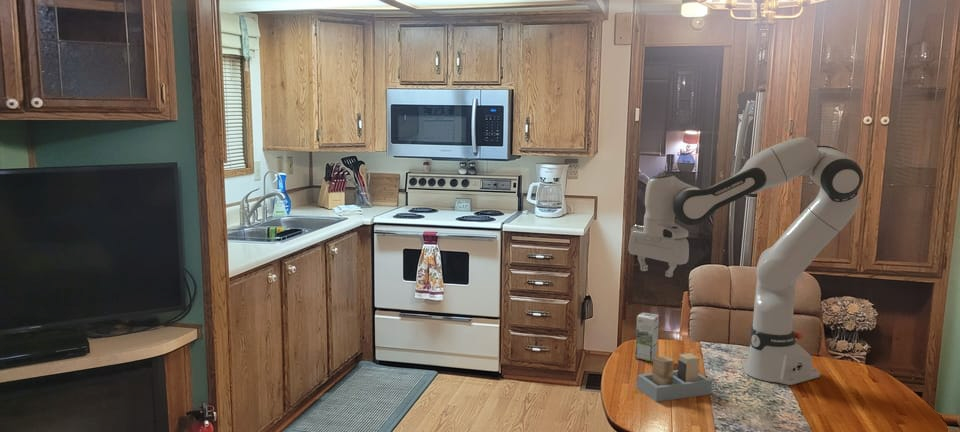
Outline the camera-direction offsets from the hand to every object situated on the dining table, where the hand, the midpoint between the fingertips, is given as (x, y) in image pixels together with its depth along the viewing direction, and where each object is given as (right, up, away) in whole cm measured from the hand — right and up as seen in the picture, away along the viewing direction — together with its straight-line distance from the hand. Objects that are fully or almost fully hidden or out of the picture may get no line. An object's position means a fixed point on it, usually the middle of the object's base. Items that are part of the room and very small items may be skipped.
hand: (656, 273), depth 206 cm
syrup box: (+1, -29, +17) cm, 34 cm away
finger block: (-1, -32, -11) cm, 34 cm away
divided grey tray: (+2, -33, -10) cm, 35 cm away
